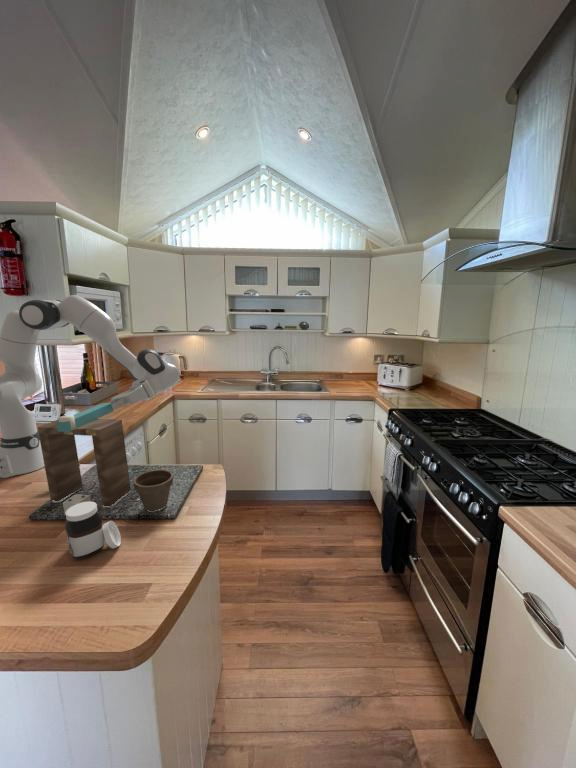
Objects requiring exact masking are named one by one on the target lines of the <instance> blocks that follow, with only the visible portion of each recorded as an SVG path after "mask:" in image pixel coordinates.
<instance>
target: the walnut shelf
mask: <svg viewBox="0 0 576 768" xmlns="http://www.w3.org/2000/svg"><path fill="white" fill-rule="evenodd" d="M57 421H59V419H57V420H56V419H55V420H54V421H51V422H48V423H46V424H42V425H40V426H38V427H37V431H38V432H39V438H40V440H39V441H40V443H41V449H42V454H43V460H44V465H45V466H44V471H45V476H46V480H47V482H46V483H47V487H48V491H49V498H50V502H51V501H52V500H55V501H59V500H61V499H62V498H64V497H66V496H68V495H69V494H71V493H73V492H75V491H77V490H79V489H80V488H82V487H83V479H82V475H81V466H79V464H80V461H79V456H78V455H79V453H78V449H77V443H76V438H75V437H76V436H89V437H90V436H91V439H92V440H91V441H92V447H93V452H94V458H95V459H94V460H95V465H96V471H97V479H98V487H99V492H100V500H101V505H104V506H111V505H112V504H114V503H115V502H116V501H117V500H118V499H120V498H121V497H122V496H124V495H125V494H126V493H128V492H129V491H130V490H131V491H132V489H131V487H132V486H131V482H130V481H131V480H130V474H129V473H130V472H129V466H128V465H129V464H128V457H127V449H126V443H125V435H124V427H123V419H115V418H114V419H112V418H111V419H110V418H109V419H108V418H97V419H95V420H93V421H91V422H89V423H87V424H85V425H82V426H80V427H78V428H76V429H74V430H72V431H69V432H58V429H57V423H56V422H57ZM83 488H84V487H83Z"/></svg>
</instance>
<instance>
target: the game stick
mask: <svg viewBox="0 0 576 768" xmlns="http://www.w3.org/2000/svg"><path fill="white" fill-rule="evenodd" d="M111 404H113V403H109V402H102V403H100V404H97V405H95V406H92V407H90V408H88V409H85V410H83V411H80V412H78V413H75V414H65V415H62V416H59V417H57V420H59V421H57V422H56V423H57V429H58V432H69V431H72V430H74V429H76V428H78V427H80V426H82V425H85V424H87V423H89V422H91V421H93V420H95V419H101V418H102V417H103V416H106V415H108V414H110V413H113V412H114V410H115V409H112V408H111V406H110V405H111Z"/></svg>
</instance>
